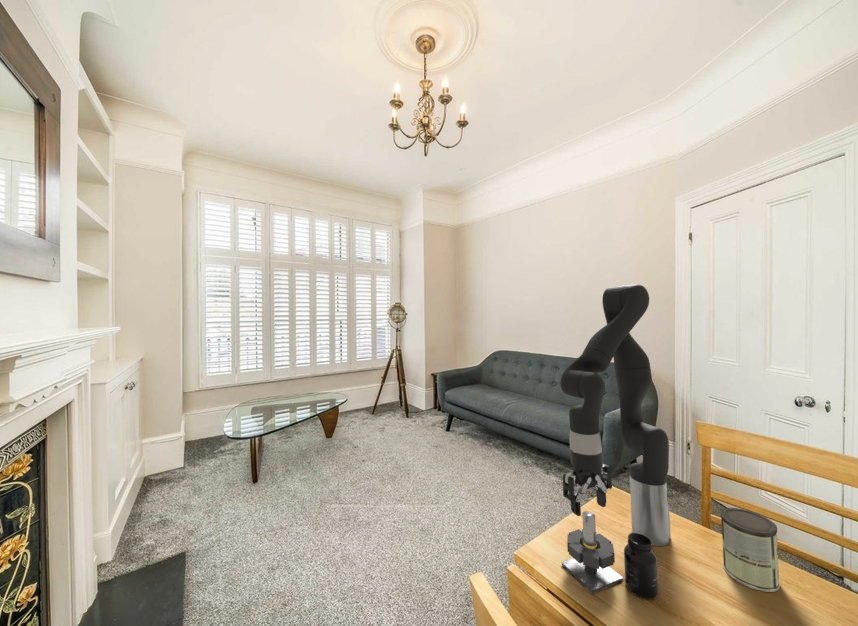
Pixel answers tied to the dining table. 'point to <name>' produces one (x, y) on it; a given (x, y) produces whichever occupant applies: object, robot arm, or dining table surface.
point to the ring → (591, 557)
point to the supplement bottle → (640, 567)
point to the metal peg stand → (589, 575)
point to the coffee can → (750, 549)
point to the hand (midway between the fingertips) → (589, 509)
